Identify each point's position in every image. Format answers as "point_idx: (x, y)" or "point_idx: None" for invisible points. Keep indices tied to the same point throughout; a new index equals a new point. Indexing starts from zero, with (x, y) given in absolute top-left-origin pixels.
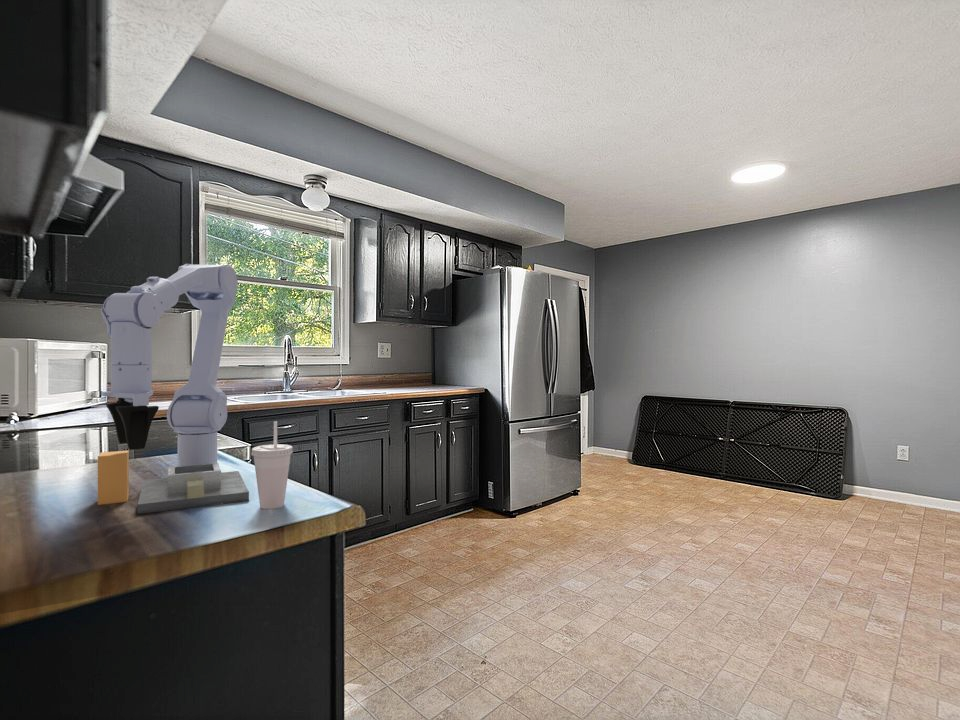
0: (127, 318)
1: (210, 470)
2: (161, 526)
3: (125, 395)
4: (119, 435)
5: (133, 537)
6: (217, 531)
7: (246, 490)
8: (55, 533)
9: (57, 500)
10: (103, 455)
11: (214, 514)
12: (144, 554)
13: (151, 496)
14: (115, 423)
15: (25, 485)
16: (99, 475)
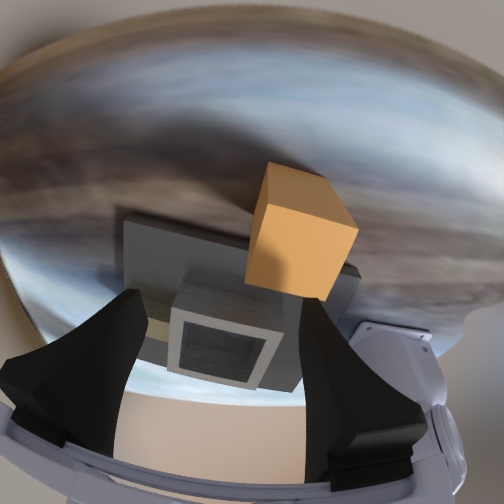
0: None
1: (248, 370)
2: (54, 227)
3: (16, 454)
4: (307, 318)
5: (28, 190)
6: (24, 270)
7: (138, 357)
8: (91, 85)
9: (384, 105)
10: (277, 223)
11: (83, 294)
12: None
13: (176, 254)
14: (320, 352)
15: None
16: (267, 185)
